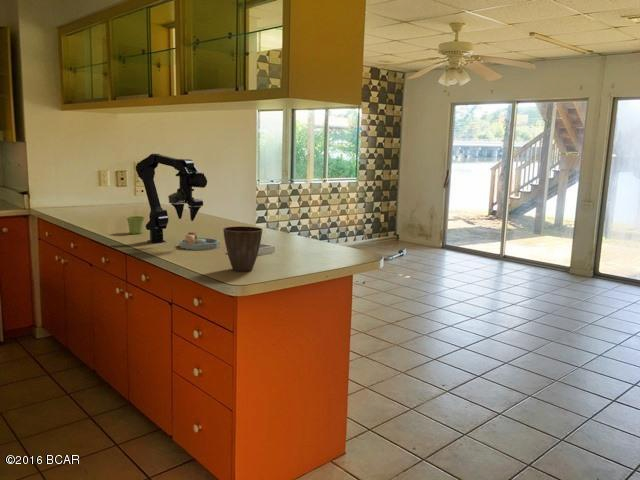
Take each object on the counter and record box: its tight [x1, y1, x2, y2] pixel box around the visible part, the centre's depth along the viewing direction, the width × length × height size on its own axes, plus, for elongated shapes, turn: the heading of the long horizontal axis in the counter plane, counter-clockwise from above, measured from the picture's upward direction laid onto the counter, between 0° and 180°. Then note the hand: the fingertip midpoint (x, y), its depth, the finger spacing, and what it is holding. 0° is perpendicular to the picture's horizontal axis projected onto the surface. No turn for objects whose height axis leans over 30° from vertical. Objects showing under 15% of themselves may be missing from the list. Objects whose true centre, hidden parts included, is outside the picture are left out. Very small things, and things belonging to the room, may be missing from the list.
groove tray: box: [179, 237, 221, 251], centre depth 252 cm, size 18×18×3 cm
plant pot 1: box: [125, 215, 145, 235], centre depth 283 cm, size 9×9×9 cm
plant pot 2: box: [222, 225, 263, 272], centre depth 206 cm, size 15×15×16 cm
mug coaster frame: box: [257, 242, 276, 257], centre depth 242 cm, size 14×16×3 cm
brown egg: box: [185, 234, 195, 244], centre depth 248 cm, size 4×4×5 cm
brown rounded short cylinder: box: [187, 231, 198, 239], centre depth 255 cm, size 4×4×5 cm
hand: (185, 219), depth 250 cm, fingers open, 9 cm apart
